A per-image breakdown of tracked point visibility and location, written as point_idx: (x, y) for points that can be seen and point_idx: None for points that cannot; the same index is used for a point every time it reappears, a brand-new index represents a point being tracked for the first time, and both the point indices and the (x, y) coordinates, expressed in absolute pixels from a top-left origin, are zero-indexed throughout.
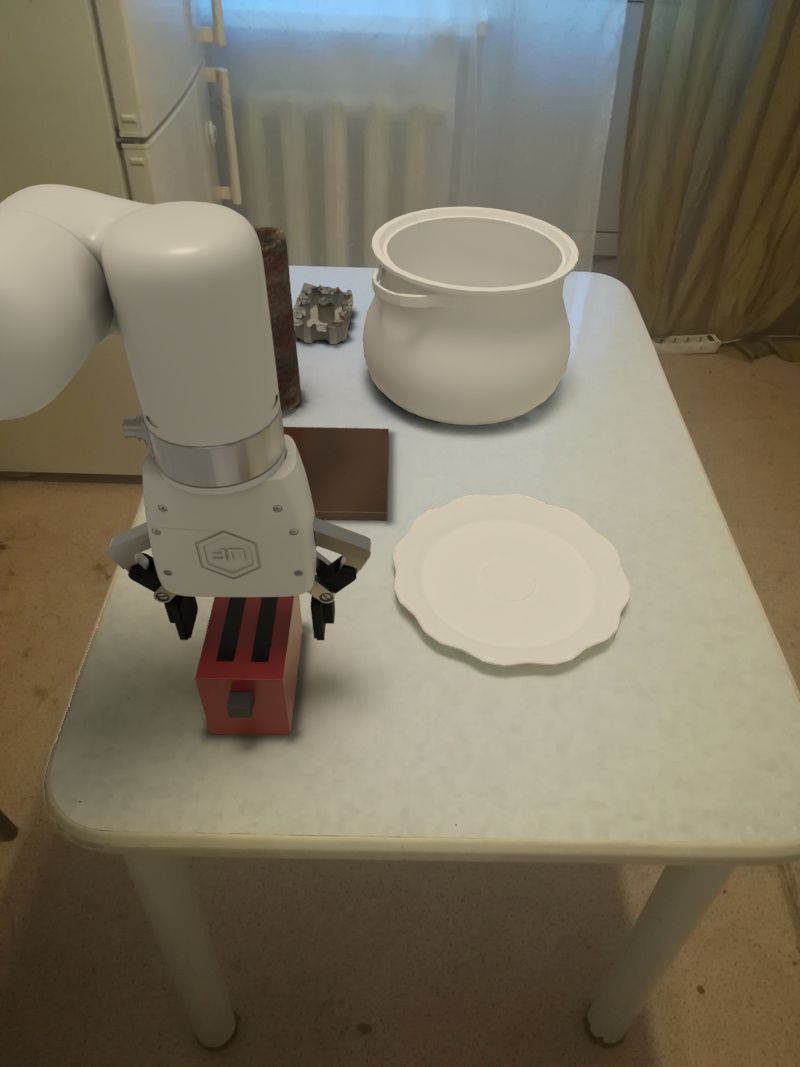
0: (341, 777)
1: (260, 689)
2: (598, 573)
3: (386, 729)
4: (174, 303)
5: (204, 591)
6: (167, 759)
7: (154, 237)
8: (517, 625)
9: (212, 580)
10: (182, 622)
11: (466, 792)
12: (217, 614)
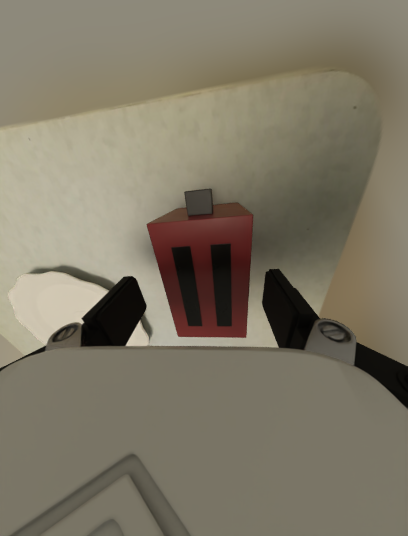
0: (127, 173)
1: (178, 217)
2: (45, 327)
3: (113, 220)
4: None
5: (250, 374)
6: (270, 172)
7: None
8: (70, 297)
9: (219, 447)
10: (281, 287)
11: (38, 172)
12: (240, 299)
